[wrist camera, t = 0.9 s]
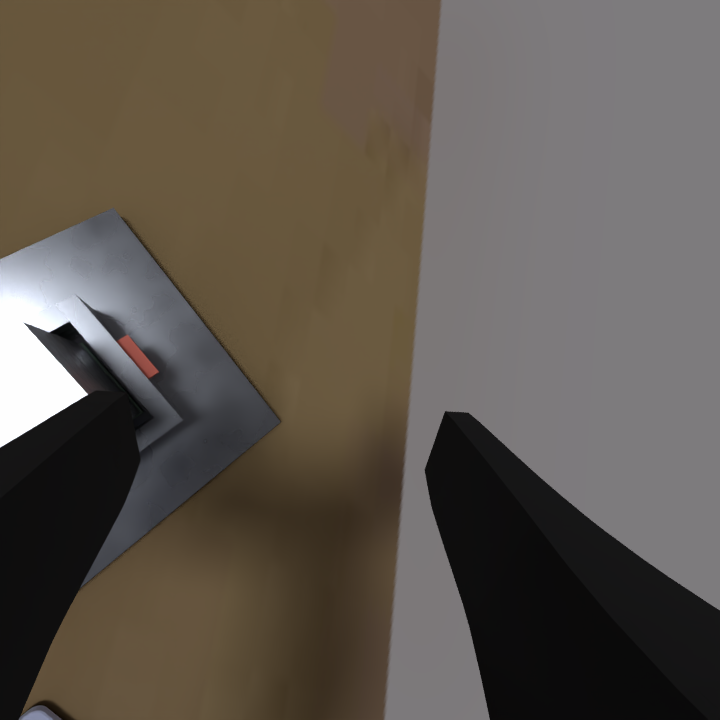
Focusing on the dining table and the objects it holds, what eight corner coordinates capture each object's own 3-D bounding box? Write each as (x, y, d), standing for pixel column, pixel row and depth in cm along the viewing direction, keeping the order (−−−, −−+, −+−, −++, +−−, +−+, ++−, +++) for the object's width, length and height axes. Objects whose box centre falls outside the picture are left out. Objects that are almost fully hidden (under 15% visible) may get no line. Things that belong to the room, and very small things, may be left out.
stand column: (60, 469, 17) (-26, 532, 10) (-13, 394, 16) (-167, 404, 9) (144, 411, 19) (122, 429, 12) (82, 340, 18) (16, 311, 11)
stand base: (37, 617, 17) (-12, 696, 13) (-234, 378, 14) (-419, 376, 10) (276, 420, 23) (299, 429, 18) (116, 215, 20) (97, 167, 15)
